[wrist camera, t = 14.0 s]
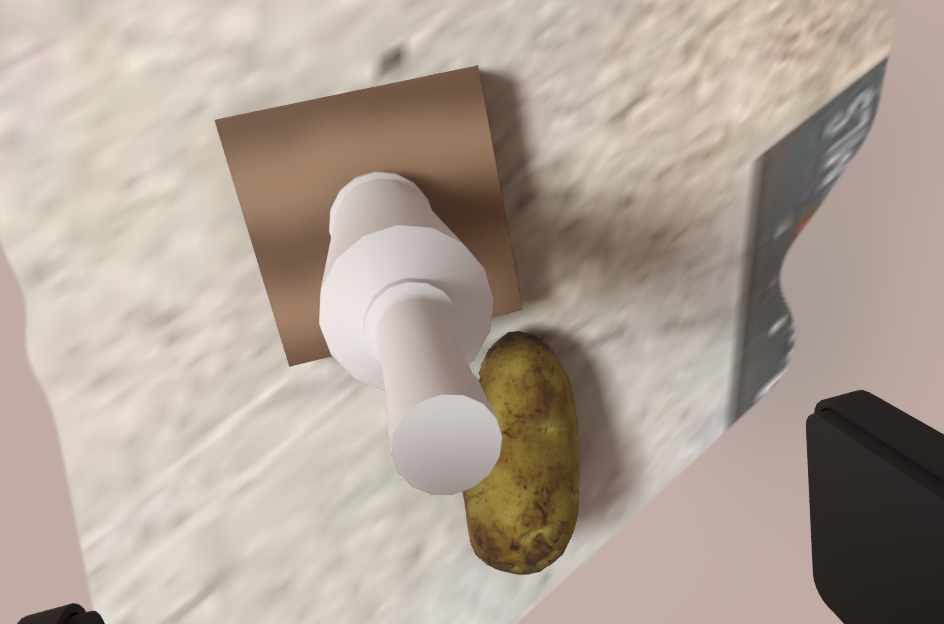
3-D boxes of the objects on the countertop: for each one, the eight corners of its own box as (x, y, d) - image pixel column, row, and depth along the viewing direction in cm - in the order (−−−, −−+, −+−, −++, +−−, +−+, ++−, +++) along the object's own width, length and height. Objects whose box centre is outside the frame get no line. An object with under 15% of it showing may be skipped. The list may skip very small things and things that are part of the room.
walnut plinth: (224, 118, 37) (214, 119, 34) (468, 67, 38) (478, 65, 35) (293, 347, 41) (289, 366, 38) (510, 294, 42) (522, 309, 39)
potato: (609, 353, 44) (664, 406, 37) (529, 526, 47) (564, 608, 39) (489, 310, 42) (521, 357, 35) (412, 494, 45) (425, 575, 37)
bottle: (337, 274, 37) (325, 590, 13) (322, 174, 35) (278, 332, 12) (435, 261, 38) (589, 541, 14) (424, 163, 36) (577, 290, 12)
